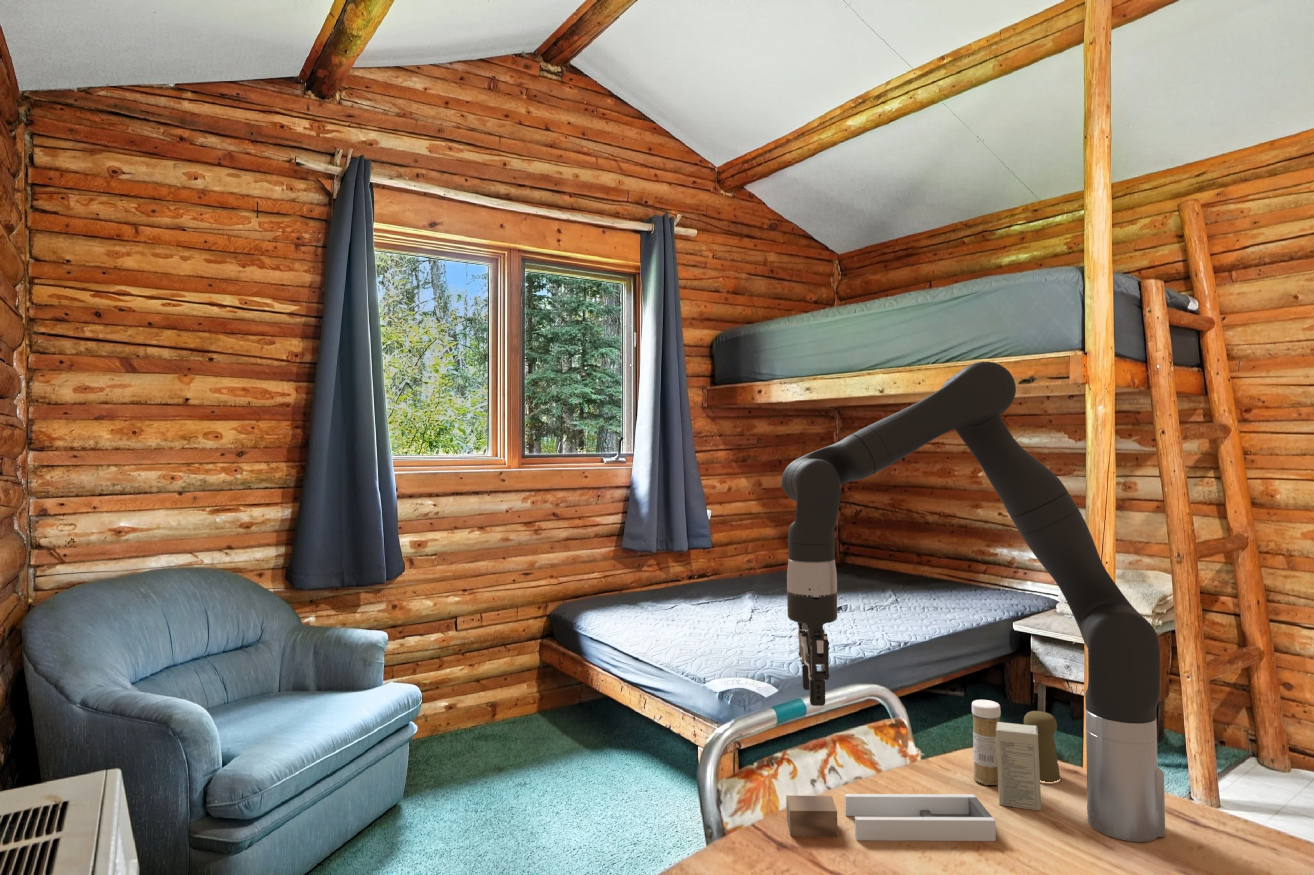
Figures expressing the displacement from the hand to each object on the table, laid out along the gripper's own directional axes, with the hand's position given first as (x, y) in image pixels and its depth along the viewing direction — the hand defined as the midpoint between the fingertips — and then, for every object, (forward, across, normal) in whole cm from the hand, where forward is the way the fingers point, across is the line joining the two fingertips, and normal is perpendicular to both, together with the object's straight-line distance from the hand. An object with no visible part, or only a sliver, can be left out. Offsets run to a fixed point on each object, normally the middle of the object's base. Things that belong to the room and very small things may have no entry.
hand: (813, 696), depth 119 cm
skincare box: (+20, -8, +34) cm, 40 cm away
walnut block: (+20, +1, -1) cm, 20 cm away
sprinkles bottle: (+20, -16, +32) cm, 41 cm away
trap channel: (+20, 0, +15) cm, 25 cm away
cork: (+20, -18, +42) cm, 50 cm away
